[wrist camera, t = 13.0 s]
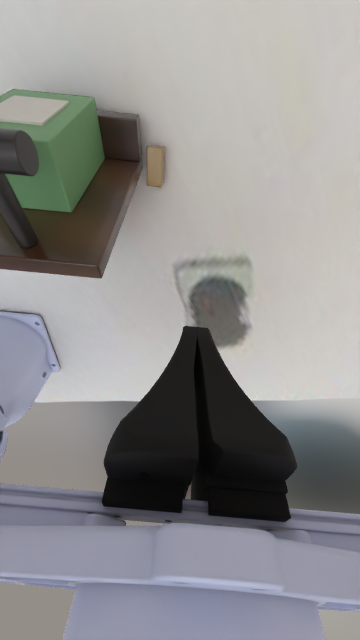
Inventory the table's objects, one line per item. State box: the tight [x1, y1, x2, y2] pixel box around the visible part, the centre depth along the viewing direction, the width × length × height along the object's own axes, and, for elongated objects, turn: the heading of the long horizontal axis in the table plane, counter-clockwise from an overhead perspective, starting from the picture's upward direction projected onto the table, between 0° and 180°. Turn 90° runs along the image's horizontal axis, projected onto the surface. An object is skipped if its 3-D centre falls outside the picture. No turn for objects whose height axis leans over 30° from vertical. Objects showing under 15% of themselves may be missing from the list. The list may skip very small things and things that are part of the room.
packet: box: [0, 89, 105, 213], centre depth 12 cm, size 6×4×3 cm
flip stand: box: [0, 110, 142, 278], centre depth 12 cm, size 11×9×5 cm
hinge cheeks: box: [147, 145, 165, 187], centre depth 16 cm, size 2×12×2 cm, turn 85°
